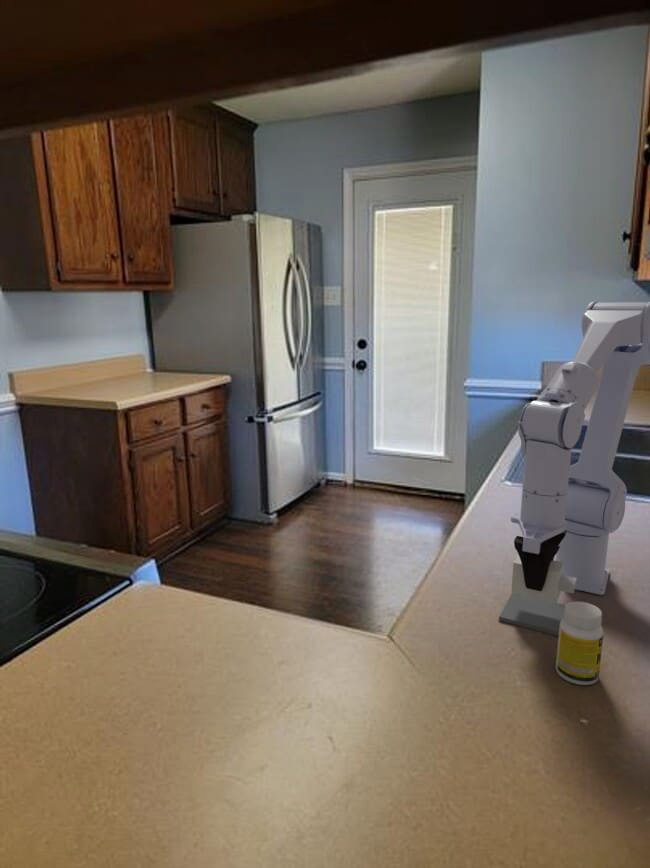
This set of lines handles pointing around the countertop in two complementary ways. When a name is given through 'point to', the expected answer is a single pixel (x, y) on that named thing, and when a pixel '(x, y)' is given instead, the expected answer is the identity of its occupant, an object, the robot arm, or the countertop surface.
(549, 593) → the block
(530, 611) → the coaster
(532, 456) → the robot arm
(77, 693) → the countertop surface
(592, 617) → the supplement bottle
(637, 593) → the countertop surface
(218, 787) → the countertop surface
